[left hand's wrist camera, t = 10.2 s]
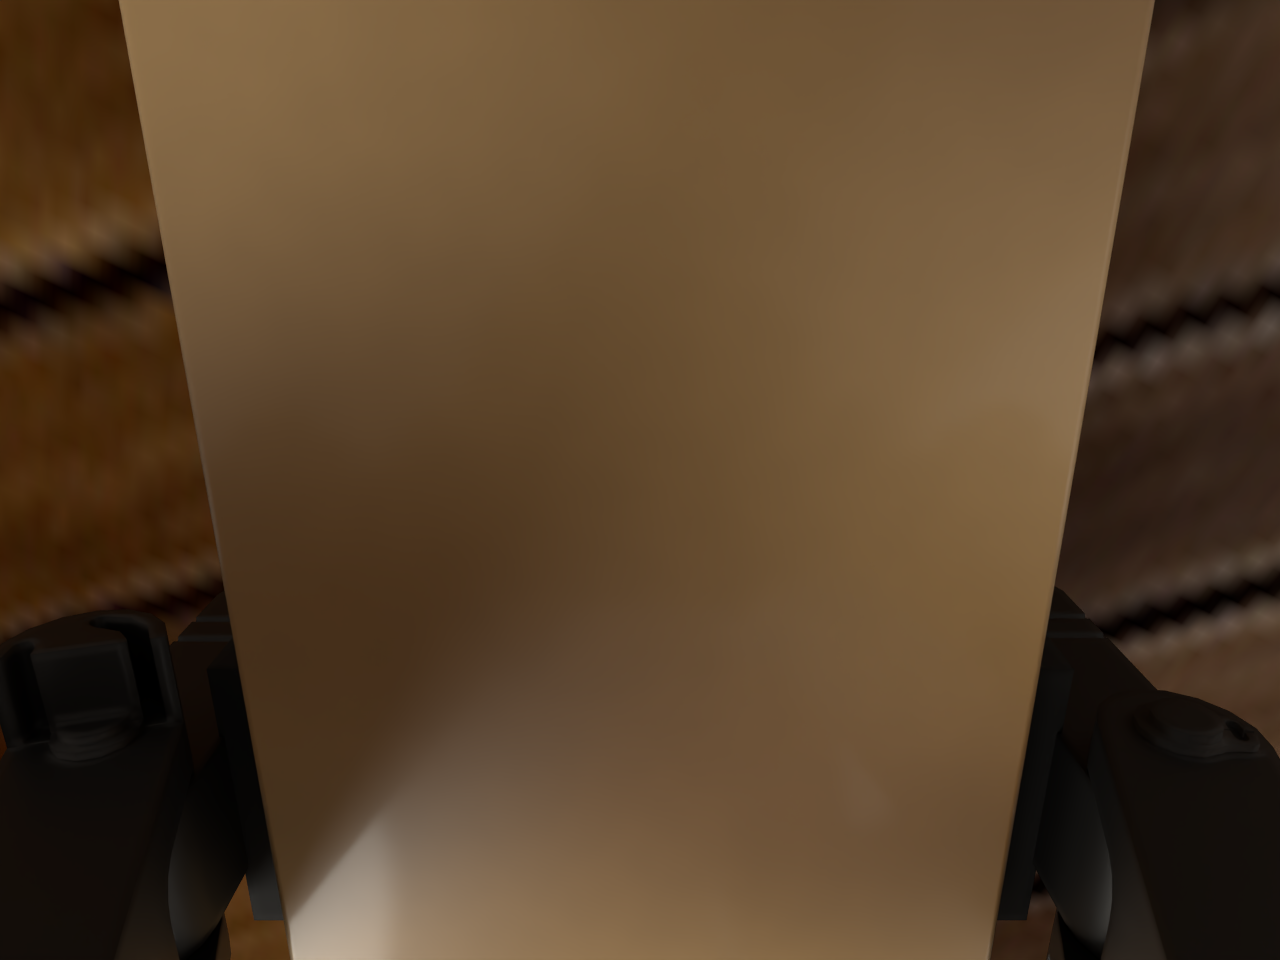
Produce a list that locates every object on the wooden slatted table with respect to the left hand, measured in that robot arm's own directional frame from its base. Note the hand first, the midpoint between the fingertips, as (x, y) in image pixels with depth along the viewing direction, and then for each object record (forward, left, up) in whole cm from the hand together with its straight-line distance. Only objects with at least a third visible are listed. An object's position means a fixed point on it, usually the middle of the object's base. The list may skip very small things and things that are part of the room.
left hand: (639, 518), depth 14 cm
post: (+7, +21, -1) cm, 22 cm away
